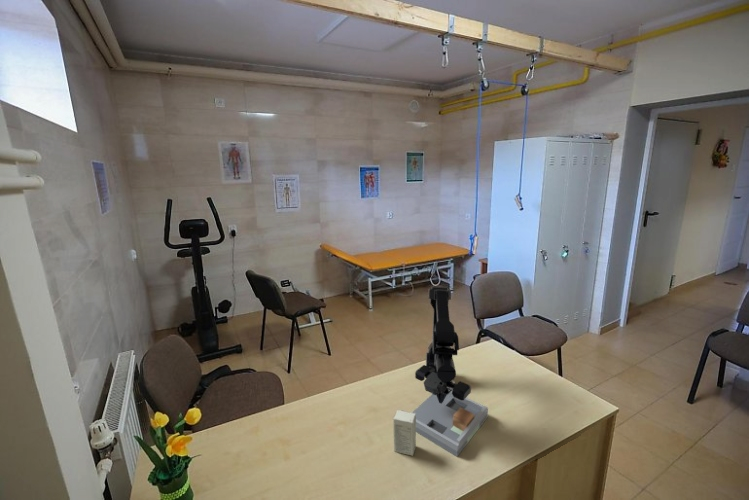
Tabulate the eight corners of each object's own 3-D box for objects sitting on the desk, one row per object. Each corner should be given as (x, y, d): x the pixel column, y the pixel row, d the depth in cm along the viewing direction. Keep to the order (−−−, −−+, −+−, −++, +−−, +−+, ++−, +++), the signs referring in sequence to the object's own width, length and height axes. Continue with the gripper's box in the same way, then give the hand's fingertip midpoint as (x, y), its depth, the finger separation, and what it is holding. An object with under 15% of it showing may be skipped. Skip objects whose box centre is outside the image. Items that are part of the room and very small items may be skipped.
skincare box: (416, 445, 110) (417, 413, 106) (412, 456, 106) (413, 423, 102) (396, 440, 112) (397, 408, 108) (392, 451, 108) (393, 418, 104)
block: (452, 425, 115) (453, 415, 114) (459, 417, 119) (460, 407, 118) (466, 432, 112) (467, 422, 111) (473, 424, 116) (474, 414, 115)
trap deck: (404, 424, 118) (404, 412, 117) (437, 393, 134) (438, 381, 133) (456, 456, 105) (457, 443, 104) (487, 417, 121) (488, 405, 120)
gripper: (406, 363, 116) (405, 402, 120) (456, 386, 104) (453, 429, 108) (424, 349, 124) (423, 387, 128) (473, 369, 112) (469, 410, 116)
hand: (440, 402), depth 120 cm, fingers closed
